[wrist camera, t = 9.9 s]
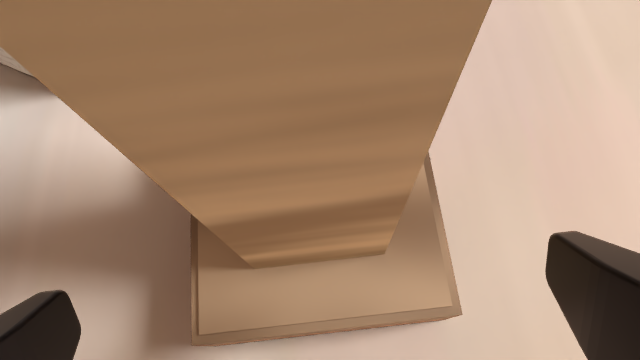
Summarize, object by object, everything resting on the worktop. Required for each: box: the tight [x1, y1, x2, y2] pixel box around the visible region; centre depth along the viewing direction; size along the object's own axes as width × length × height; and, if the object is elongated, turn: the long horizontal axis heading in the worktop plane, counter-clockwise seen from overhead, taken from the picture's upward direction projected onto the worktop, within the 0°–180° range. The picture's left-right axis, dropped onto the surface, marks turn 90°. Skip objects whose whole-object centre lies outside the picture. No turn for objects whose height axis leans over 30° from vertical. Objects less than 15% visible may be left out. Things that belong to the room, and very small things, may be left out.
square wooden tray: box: [191, 152, 462, 346], centre depth 18 cm, size 9×9×3 cm
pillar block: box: [0, 0, 492, 269], centre depth 10 cm, size 4×4×13 cm
